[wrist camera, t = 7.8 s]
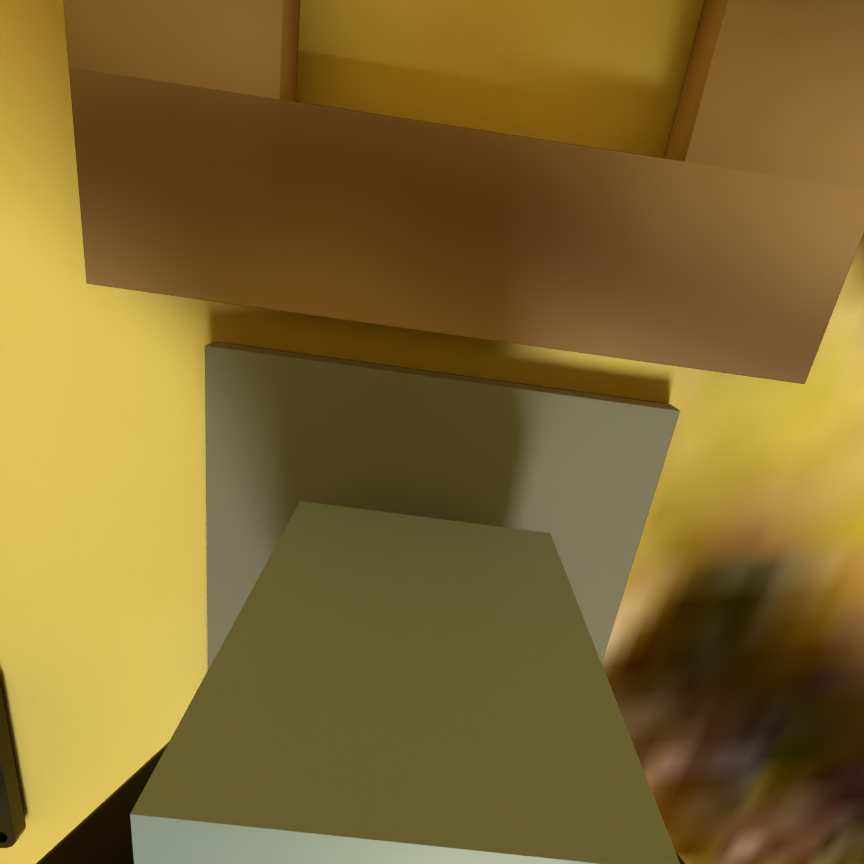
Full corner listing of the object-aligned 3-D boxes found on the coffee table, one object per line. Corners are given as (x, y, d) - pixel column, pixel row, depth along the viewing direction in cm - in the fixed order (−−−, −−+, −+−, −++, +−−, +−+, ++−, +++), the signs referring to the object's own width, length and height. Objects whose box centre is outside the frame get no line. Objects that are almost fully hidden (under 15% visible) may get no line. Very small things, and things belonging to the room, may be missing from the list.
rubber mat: (569, 738, 15) (573, 754, 14) (215, 698, 14) (208, 713, 14) (670, 404, 12) (680, 410, 11) (214, 341, 11) (205, 345, 11)
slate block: (550, 533, 10) (683, 872, 5) (504, 720, 12) (563, 1137, 6) (300, 501, 10) (130, 814, 5) (288, 695, 12) (153, 1102, 6)
